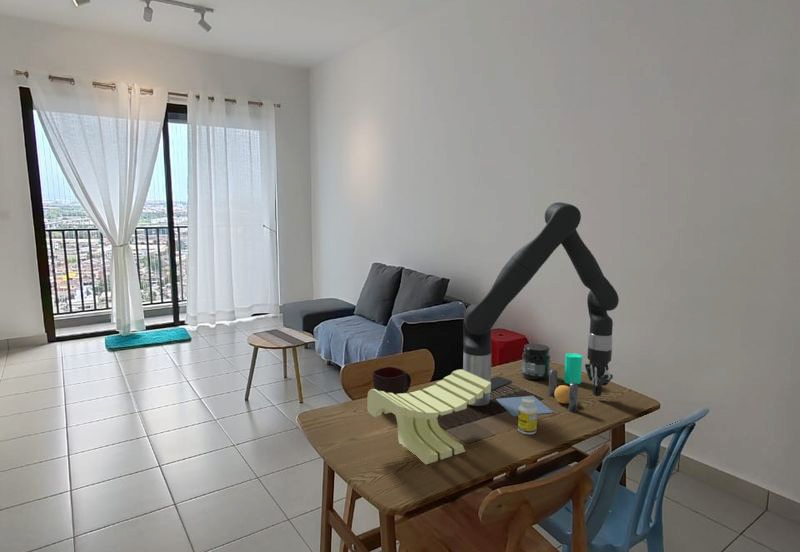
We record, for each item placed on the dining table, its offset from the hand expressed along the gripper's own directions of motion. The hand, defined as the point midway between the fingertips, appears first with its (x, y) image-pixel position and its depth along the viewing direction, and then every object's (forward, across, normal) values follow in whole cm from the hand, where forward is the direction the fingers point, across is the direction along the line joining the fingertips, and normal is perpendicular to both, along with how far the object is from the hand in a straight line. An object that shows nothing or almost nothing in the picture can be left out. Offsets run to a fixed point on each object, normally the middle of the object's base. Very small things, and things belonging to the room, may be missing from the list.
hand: (596, 395), depth 168 cm
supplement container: (+2, -25, -10) cm, 27 cm away
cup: (+2, -9, -69) cm, 70 cm away
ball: (-2, 0, -13) cm, 13 cm away
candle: (+2, -17, +1) cm, 17 cm away
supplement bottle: (+2, +17, -34) cm, 38 cm away
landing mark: (+2, 0, -27) cm, 27 cm away
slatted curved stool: (+2, +20, -65) cm, 68 cm away
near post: (+2, +7, -13) cm, 15 cm away
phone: (+2, -21, -29) cm, 36 cm away
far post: (+2, -7, -13) cm, 15 cm away
